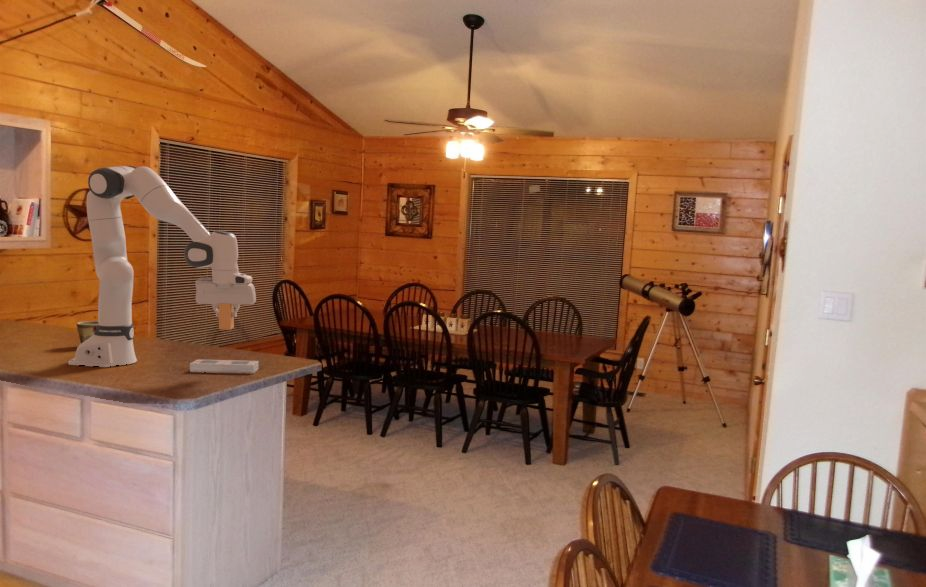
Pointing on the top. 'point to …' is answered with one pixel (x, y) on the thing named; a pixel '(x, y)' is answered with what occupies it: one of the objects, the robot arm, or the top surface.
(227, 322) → the square peg
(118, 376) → the top surface
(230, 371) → the white recessed tray
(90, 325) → the ceramic cup
